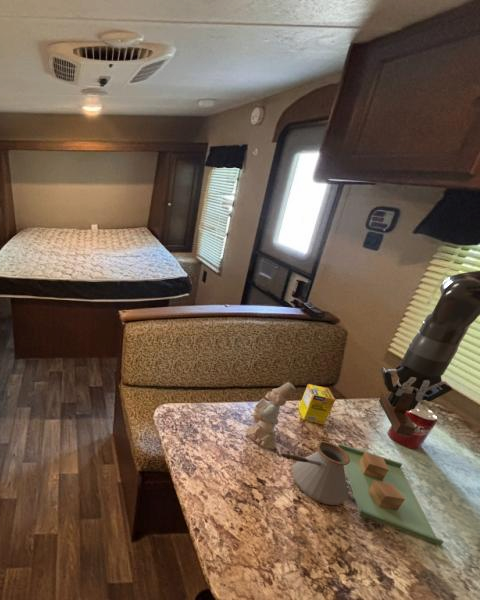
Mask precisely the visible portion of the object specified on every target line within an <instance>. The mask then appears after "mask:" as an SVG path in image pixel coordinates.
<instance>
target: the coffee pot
mask: <svg viewBox="0 0 480 600" xmlns="http://www.w3.org/2000/svg"><path fill="white" fill-rule="evenodd" d="M316 450H317V451H315V452H313V453H312V454H310V455H308V456H305V457H303V456H300V455H296V454H290V453H288V452H287V453H284V452H282V453H281V452H279V451H276V452H275V453H274V457H275V460H276V461H278V463H283V462H285V459H287V460H292V461H293V462H295V463H294V464H292V465H293V466H292V467H291V472H292V476H293V477H292V478H293V480H294V483H296V485H297V486H298V487H299V489H300V490H301V491H302V492H303V493H304V494H306V496H308V497H309V498H311V499H312V500H315V501H316V502H319V503H321V504H325V505H330V506H338V505H341V504H344V503H345V502H346V500H348V495H349V492H348V487H347V486H348V485H347V480H346V471H345V467H344V465H347V464H349V463H350V458H349V456H348V454H347V453H346V452H345V451H344V450H343V449H341V448H340V447H338V445H337V444H334V443H331V442H328V441H324V440H320V441H318V442H317V444H316ZM278 453H279V455H280V457H282V461H280V460H279V459H278V458H277V454H278Z"/></svg>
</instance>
